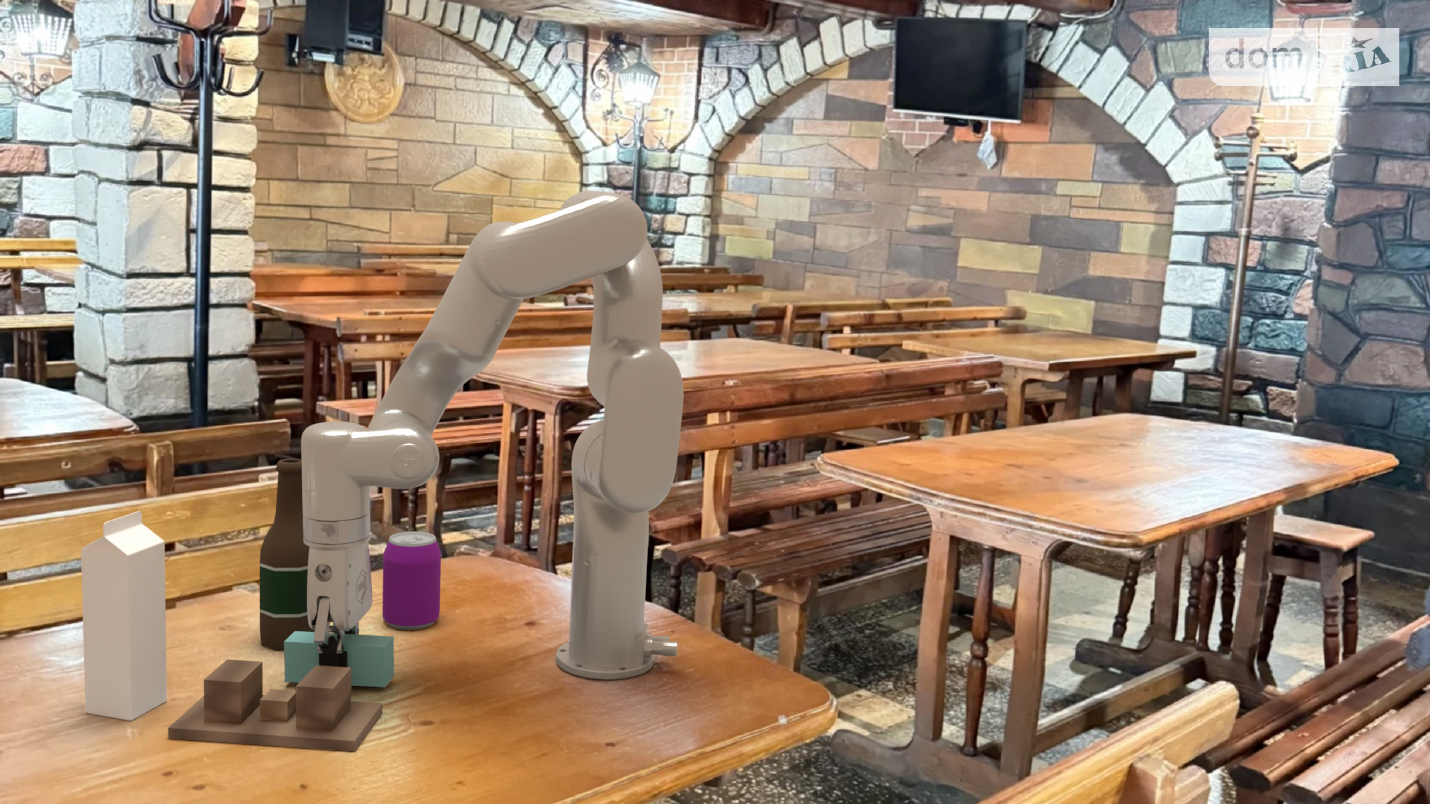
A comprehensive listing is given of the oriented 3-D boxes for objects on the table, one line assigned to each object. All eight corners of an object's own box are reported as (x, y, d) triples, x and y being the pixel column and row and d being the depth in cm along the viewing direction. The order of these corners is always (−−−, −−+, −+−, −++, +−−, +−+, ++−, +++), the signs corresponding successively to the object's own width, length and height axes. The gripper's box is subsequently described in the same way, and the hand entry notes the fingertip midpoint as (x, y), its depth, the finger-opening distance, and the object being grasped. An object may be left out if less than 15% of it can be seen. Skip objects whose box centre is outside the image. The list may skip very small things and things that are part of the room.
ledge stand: (382, 713, 143) (383, 663, 142) (354, 751, 133) (355, 697, 132) (208, 701, 143) (208, 651, 142) (168, 738, 133) (167, 685, 132)
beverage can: (414, 609, 178) (415, 526, 176) (451, 622, 173) (453, 538, 171) (370, 622, 172) (371, 537, 170) (407, 635, 167) (409, 549, 165)
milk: (84, 713, 138) (77, 520, 135) (123, 693, 144) (117, 507, 141) (132, 721, 137) (126, 526, 133) (169, 700, 143) (164, 512, 139)
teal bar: (393, 675, 152) (393, 636, 151) (385, 687, 148) (385, 646, 147) (295, 670, 152) (294, 631, 151) (284, 681, 148) (284, 641, 148)
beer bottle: (302, 655, 158) (303, 469, 154) (246, 647, 160) (245, 463, 156) (333, 634, 166) (334, 457, 162) (279, 627, 167) (279, 451, 164)
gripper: (345, 549, 139) (348, 706, 142) (389, 511, 155) (390, 652, 158) (278, 546, 139) (282, 703, 142) (329, 508, 155) (331, 649, 158)
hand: (339, 675), depth 150 cm, fingers closed on teal bar, 3 cm apart
